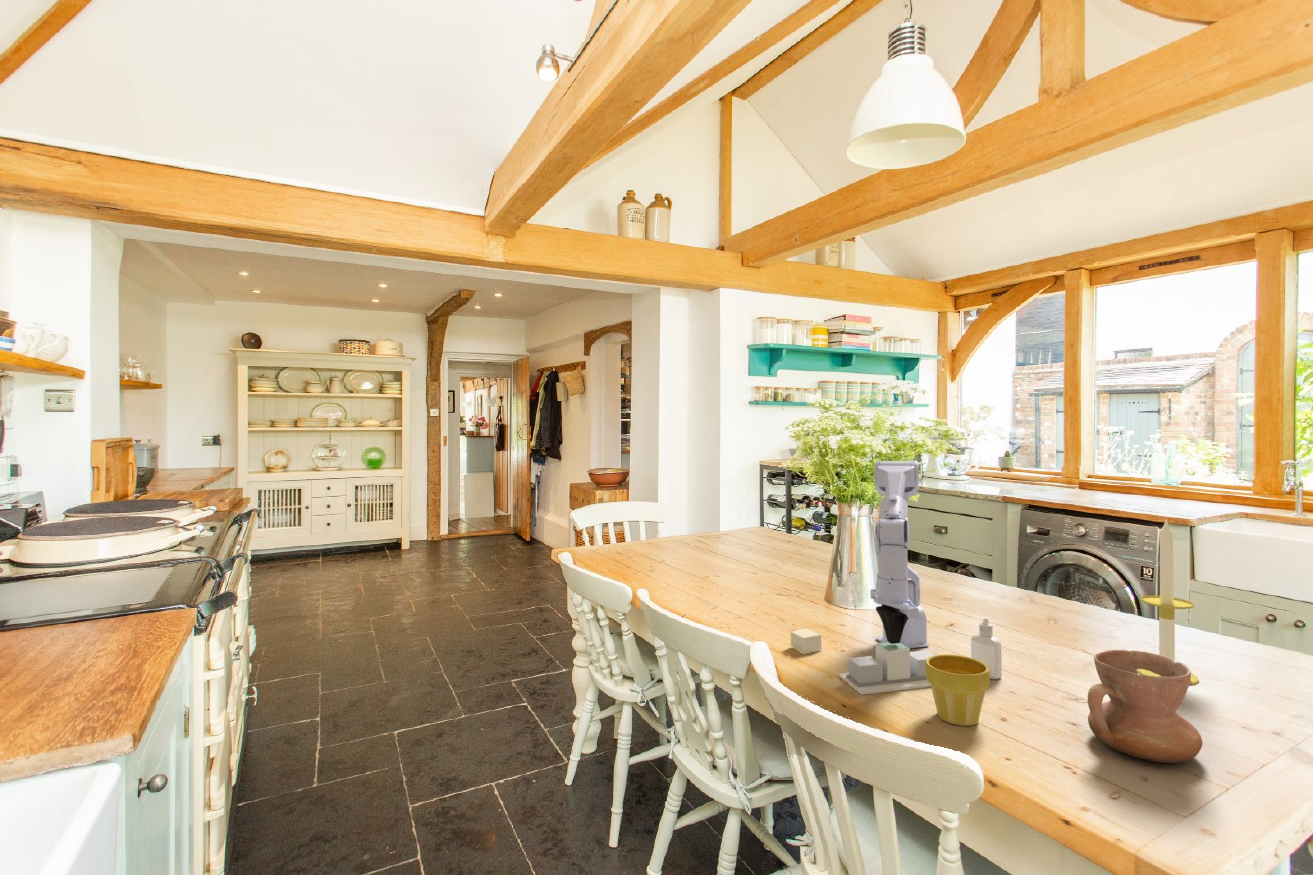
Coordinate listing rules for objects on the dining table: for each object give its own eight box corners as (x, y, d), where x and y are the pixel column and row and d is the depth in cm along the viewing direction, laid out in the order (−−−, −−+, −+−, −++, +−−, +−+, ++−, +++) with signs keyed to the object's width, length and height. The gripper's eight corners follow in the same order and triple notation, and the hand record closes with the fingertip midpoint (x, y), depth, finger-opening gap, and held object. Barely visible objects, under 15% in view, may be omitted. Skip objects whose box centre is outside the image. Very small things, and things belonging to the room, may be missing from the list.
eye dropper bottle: (983, 680, 127) (983, 622, 127) (968, 670, 133) (968, 614, 133) (1004, 679, 127) (1004, 622, 127) (988, 669, 133) (988, 613, 133)
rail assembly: (924, 667, 135) (924, 646, 135) (951, 684, 126) (951, 661, 126) (839, 676, 131) (838, 654, 131) (861, 694, 122) (860, 671, 122)
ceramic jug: (1149, 722, 109) (1147, 642, 108) (1236, 767, 94) (1233, 674, 94) (1055, 733, 106) (1052, 650, 106) (1129, 780, 92) (1125, 685, 92)
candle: (1155, 662, 134) (1154, 513, 134) (1210, 680, 125) (1210, 519, 124) (1125, 670, 131) (1124, 516, 130) (1179, 689, 121) (1178, 523, 121)
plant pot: (935, 699, 119) (934, 649, 119) (995, 714, 113) (995, 661, 113) (919, 720, 111) (918, 666, 111) (982, 737, 105) (982, 680, 105)
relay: (808, 644, 150) (807, 628, 150) (821, 651, 146) (821, 634, 146) (791, 648, 148) (790, 631, 148) (803, 655, 144) (803, 638, 144)
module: (897, 669, 131) (897, 640, 131) (910, 678, 127) (909, 648, 126) (876, 671, 130) (875, 642, 130) (887, 680, 126) (887, 650, 125)
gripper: (857, 570, 134) (858, 632, 135) (895, 587, 120) (896, 656, 120) (886, 568, 136) (887, 629, 136) (927, 584, 121) (928, 653, 122)
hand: (893, 642), depth 128 cm, fingers closed
